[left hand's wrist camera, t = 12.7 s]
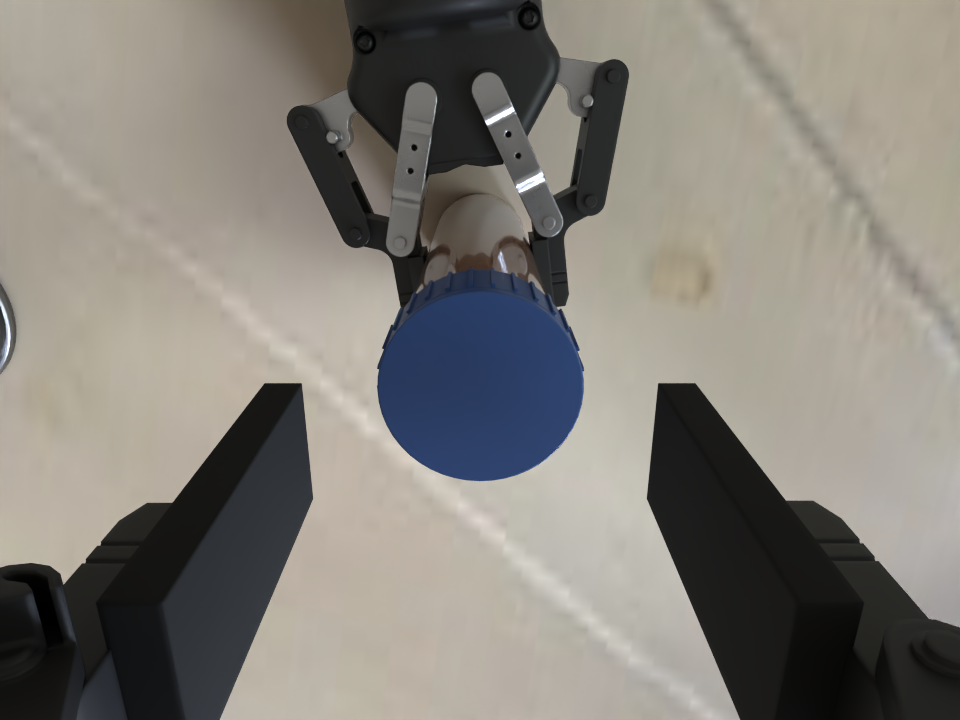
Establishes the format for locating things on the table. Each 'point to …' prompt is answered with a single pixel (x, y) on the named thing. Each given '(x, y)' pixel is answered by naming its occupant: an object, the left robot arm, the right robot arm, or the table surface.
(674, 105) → the table surface
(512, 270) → the brown cylindrical piece
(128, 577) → the left robot arm
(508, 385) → the lid
